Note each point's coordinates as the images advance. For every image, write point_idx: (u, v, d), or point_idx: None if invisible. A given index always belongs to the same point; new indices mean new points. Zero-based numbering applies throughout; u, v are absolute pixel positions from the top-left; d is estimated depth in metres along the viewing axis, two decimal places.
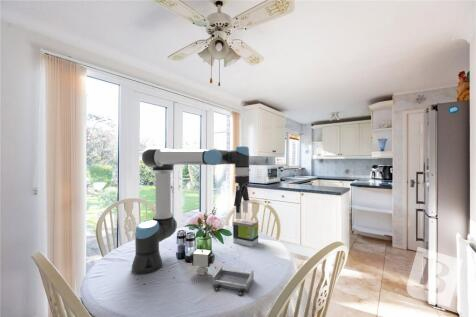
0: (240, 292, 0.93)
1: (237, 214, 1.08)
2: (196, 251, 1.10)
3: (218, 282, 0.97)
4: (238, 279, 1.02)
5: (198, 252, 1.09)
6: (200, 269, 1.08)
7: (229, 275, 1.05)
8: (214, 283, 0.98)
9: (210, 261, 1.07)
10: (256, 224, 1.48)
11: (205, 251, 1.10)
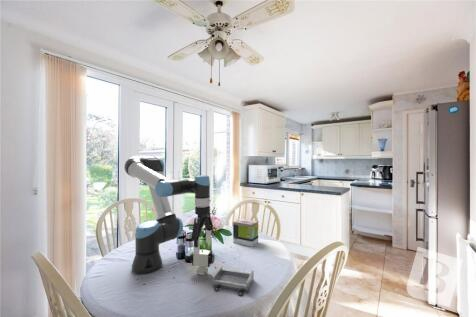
0: (240, 292, 0.93)
1: (195, 248, 1.03)
2: None
3: (218, 282, 0.97)
4: (238, 279, 1.02)
5: None
6: (200, 269, 1.08)
7: (229, 275, 1.05)
8: (214, 283, 0.98)
9: (210, 261, 1.07)
10: (256, 224, 1.48)
11: (205, 251, 1.10)
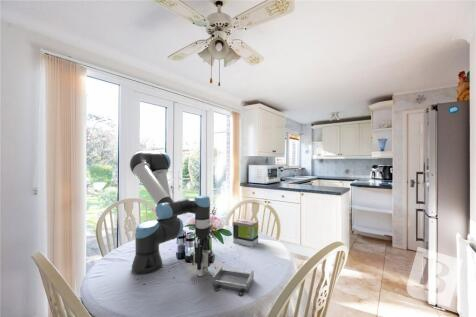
0: (240, 292, 0.93)
1: (198, 270, 1.07)
2: None
3: (218, 282, 0.97)
4: (238, 279, 1.02)
5: None
6: None
7: (229, 275, 1.05)
8: (214, 283, 0.98)
9: (210, 261, 1.07)
10: (256, 224, 1.48)
11: (205, 251, 1.10)
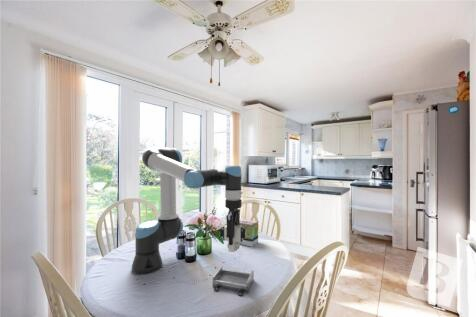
0: (240, 292, 0.93)
1: (229, 246, 0.98)
2: None
3: (218, 282, 0.97)
4: (238, 279, 1.02)
5: None
6: None
7: (229, 275, 1.05)
8: (214, 283, 0.98)
9: (243, 235, 0.98)
10: (256, 224, 1.48)
11: (236, 225, 1.01)
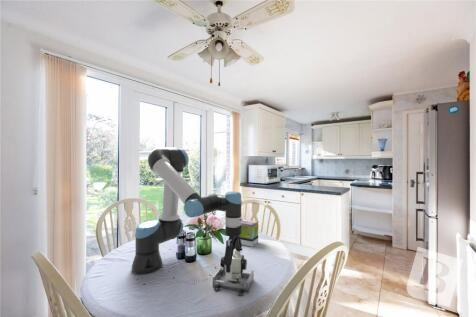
0: (240, 292, 0.93)
1: (227, 273, 0.94)
2: None
3: (218, 282, 0.97)
4: None
5: None
6: (232, 275, 0.99)
7: None
8: (214, 283, 0.98)
9: (243, 267, 0.98)
10: (256, 224, 1.48)
11: (237, 256, 1.01)
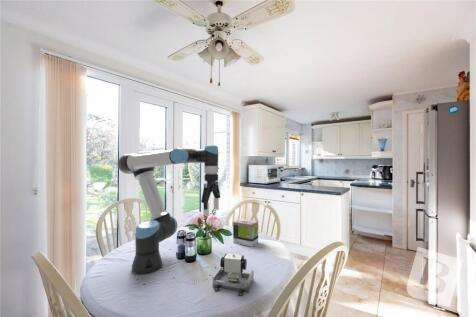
0: (240, 292, 0.93)
1: (204, 211, 1.12)
2: (227, 256, 1.02)
3: (218, 282, 0.97)
4: None
5: (229, 257, 1.00)
6: (232, 276, 0.99)
7: None
8: (214, 283, 0.98)
9: (243, 267, 0.98)
10: (256, 224, 1.48)
11: (236, 256, 1.01)
